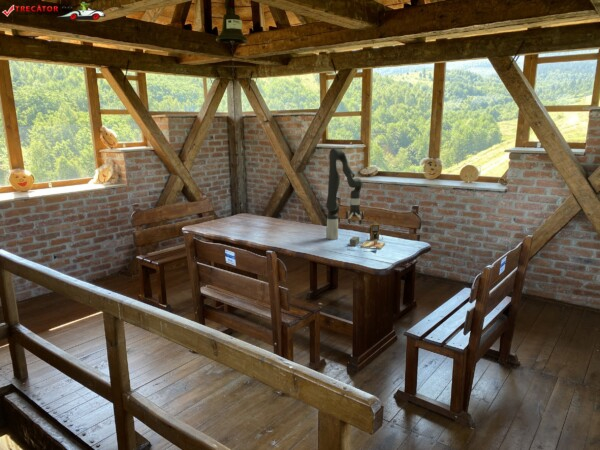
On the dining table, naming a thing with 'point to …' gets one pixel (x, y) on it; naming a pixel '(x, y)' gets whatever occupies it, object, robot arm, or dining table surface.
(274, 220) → the dining table surface
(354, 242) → the block
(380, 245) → the board
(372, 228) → the multimeter
